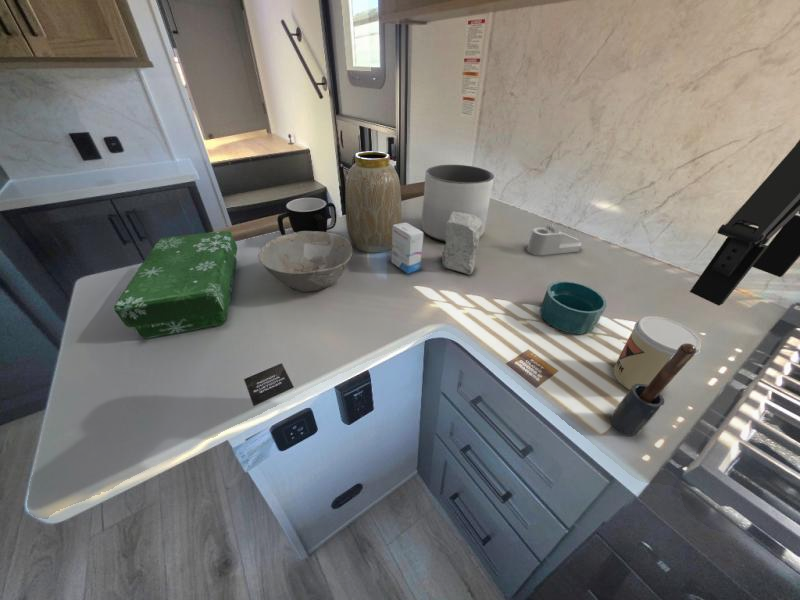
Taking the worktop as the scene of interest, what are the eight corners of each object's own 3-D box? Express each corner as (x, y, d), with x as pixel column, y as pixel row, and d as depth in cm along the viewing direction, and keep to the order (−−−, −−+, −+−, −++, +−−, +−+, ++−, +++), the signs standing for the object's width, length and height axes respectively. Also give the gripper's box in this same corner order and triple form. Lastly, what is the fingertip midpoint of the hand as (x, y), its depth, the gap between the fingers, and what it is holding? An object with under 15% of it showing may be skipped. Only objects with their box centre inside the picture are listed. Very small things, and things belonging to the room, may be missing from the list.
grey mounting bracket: (582, 251, 103) (591, 228, 98) (533, 256, 99) (540, 232, 95) (571, 243, 107) (579, 221, 102) (523, 247, 104) (530, 224, 99)
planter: (413, 239, 107) (417, 178, 95) (429, 215, 124) (433, 161, 112) (479, 250, 102) (491, 186, 90) (486, 224, 119) (497, 168, 107)
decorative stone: (436, 270, 91) (442, 222, 82) (442, 255, 98) (448, 210, 89) (472, 276, 89) (481, 227, 80) (476, 261, 96) (485, 215, 87)
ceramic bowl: (337, 315, 74) (333, 279, 68) (249, 300, 77) (237, 265, 71) (366, 268, 91) (364, 236, 85) (293, 257, 95) (286, 226, 89)
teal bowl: (606, 326, 73) (618, 304, 69) (569, 341, 68) (580, 319, 64) (563, 297, 81) (572, 276, 78) (528, 309, 77) (535, 288, 73)
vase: (406, 253, 99) (410, 161, 83) (351, 258, 95) (343, 163, 79) (394, 230, 112) (395, 148, 96) (345, 234, 109) (338, 149, 92)
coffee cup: (611, 353, 66) (639, 308, 59) (665, 374, 61) (702, 328, 54) (604, 382, 60) (634, 335, 52) (663, 408, 55) (705, 361, 48)
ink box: (421, 269, 91) (424, 231, 84) (407, 274, 89) (409, 235, 82) (404, 257, 96) (405, 220, 89) (390, 262, 94) (391, 224, 87)
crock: (644, 429, 52) (670, 400, 47) (628, 440, 50) (653, 410, 46) (620, 409, 55) (643, 379, 50) (604, 419, 53) (625, 389, 49)
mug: (300, 227, 112) (294, 193, 105) (343, 231, 110) (340, 197, 103) (277, 247, 100) (268, 210, 92) (325, 253, 97) (320, 216, 90)
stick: (633, 424, 52) (702, 347, 39) (626, 428, 52) (694, 352, 39) (624, 416, 53) (688, 338, 40) (617, 420, 53) (680, 343, 40)
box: (231, 329, 69) (216, 291, 63) (133, 345, 64) (108, 306, 58) (243, 259, 93) (233, 228, 87) (172, 268, 88) (157, 235, 82)
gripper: (903, 49, 30) (751, 249, 43) (787, 29, 21) (636, 291, 34) (1054, 47, 25) (829, 276, 37) (987, 18, 16) (719, 335, 28)
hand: (738, 283), depth 35 cm, fingers open, 13 cm apart
